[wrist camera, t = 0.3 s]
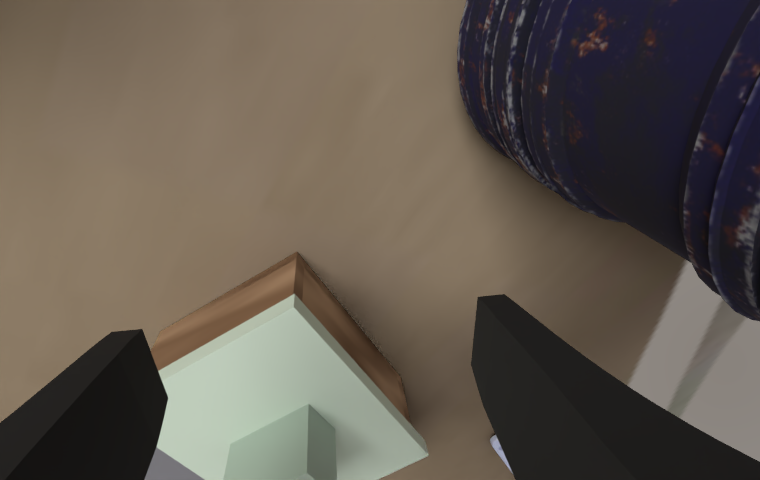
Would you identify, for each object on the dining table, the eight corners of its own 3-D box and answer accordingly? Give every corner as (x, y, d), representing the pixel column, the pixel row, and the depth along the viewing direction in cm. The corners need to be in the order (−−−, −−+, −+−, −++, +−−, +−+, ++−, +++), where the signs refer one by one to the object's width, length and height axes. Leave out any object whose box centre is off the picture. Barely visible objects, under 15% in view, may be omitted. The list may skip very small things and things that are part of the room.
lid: (422, 430, 22) (444, 521, 18) (278, 499, 23) (270, 598, 19) (295, 284, 17) (288, 369, 13) (119, 384, 18) (65, 488, 14)
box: (401, 377, 25) (414, 439, 21) (284, 436, 26) (278, 504, 22) (296, 251, 20) (291, 305, 16) (160, 331, 21) (129, 397, 18)
